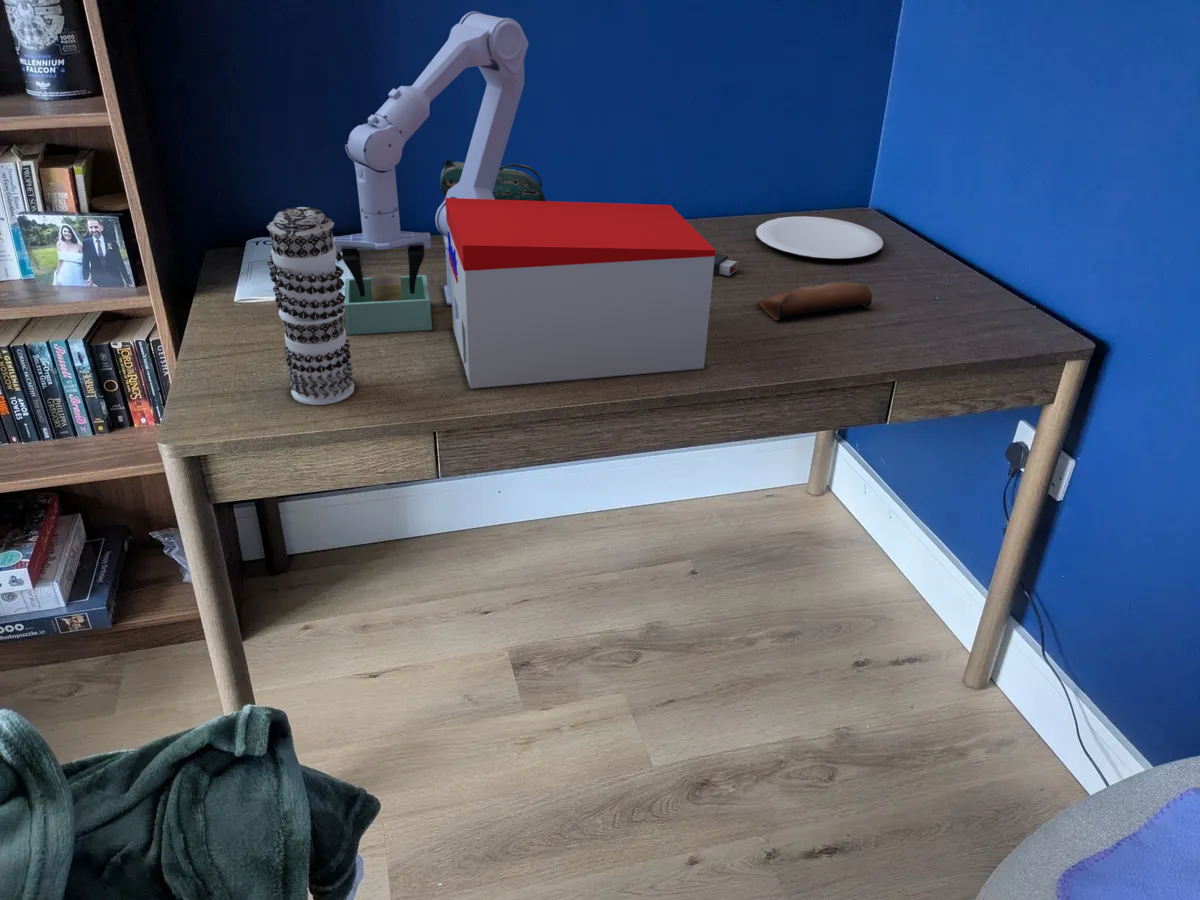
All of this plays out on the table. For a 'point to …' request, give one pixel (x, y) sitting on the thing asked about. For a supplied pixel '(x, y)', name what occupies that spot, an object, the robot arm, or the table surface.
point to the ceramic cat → (499, 182)
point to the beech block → (386, 287)
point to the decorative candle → (311, 305)
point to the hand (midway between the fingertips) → (387, 292)
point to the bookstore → (575, 290)
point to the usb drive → (724, 265)
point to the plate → (819, 238)
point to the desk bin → (387, 309)
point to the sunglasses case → (816, 299)
